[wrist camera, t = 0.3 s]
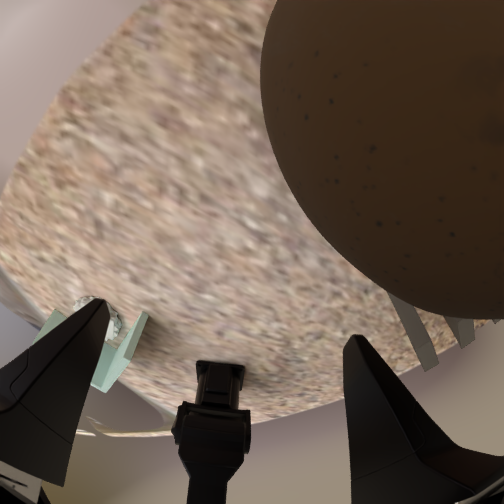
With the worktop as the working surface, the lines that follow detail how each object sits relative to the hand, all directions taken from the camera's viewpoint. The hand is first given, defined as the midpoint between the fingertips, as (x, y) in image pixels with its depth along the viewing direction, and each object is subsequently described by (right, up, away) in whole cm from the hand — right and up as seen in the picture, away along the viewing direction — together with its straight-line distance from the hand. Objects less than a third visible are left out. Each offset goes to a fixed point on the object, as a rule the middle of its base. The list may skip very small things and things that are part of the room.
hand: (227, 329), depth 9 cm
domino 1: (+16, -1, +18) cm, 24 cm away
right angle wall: (-20, -5, +22) cm, 30 cm away
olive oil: (+7, +14, +9) cm, 18 cm away
